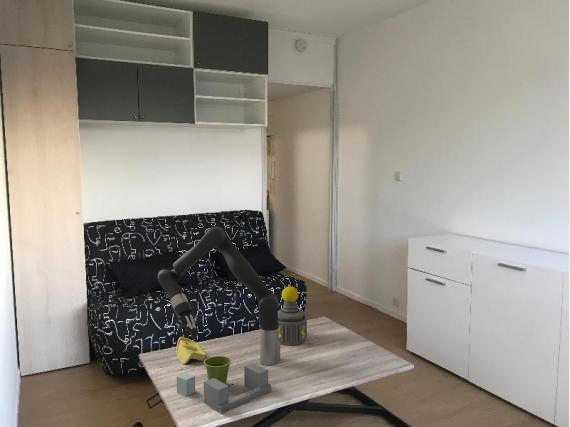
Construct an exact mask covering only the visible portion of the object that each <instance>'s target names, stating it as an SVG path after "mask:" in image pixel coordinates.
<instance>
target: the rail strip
mask: <svg viewBox="0 0 570 427" xmlns="http://www.w3.org/2000/svg"><path fill="white" fill-rule="evenodd" d="M271 392H272V384H270V383H268V384H266V385H263V386H261V387H257V388H255V389H253V390H251V389H249V390H248V391H246V392H244V393H241V394H239V395H236V396H235V397H232V398H229V401H226V402H224V403H222V404H219V412H218V413H219V414H221V415H223V414H225V413H227V412H230V411H232V410H234V409H236V408H239V407H241V406H243V405H245V404H247V403H250V402H252V401H254V400H256V399H258V398H261V397H263V396H265V395H267V394H269V393H271Z"/></svg>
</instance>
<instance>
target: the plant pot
mask: <svg viewBox="0 0 570 427" xmlns="http://www.w3.org/2000/svg"><path fill="white" fill-rule="evenodd" d="M231 363H232V359H231V358H229V357H228V356H226V355H225V356H224V355H215V356H213V355H212V356H209V357H207V358H205V359H204V360H203V364H204V365H205V370H206V374H207V380H210V379H212V378H215V379H217V380H219V381H220V382H222V383H224V384H226V385H227V380H228V374H229V369H230V367H231V366H230V364H231Z"/></svg>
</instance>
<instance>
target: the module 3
mask: <svg viewBox="0 0 570 427" xmlns="http://www.w3.org/2000/svg"><path fill="white" fill-rule="evenodd" d="M243 368H244V369H243V372H244V375H243V376H244V378H243V380H244V387H245V388H247V389H249V390H253V389H255V388H257V387H261V386H263V385H266V384H269V369H267V368H265V367H263V366H260V365H258V364H256V363H254V362H252V363H249V364H247V365H244V367H243Z"/></svg>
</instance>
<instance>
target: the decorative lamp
mask: <svg viewBox="0 0 570 427" xmlns="http://www.w3.org/2000/svg"><path fill="white" fill-rule="evenodd" d="M281 298H282V300H283V301H284V302H283V305H282V308H281V309H278V323H279V342H280V345H282V344H283V345H284V346H297V345H296V344H298V345H301V344H303V343H305V342H306V340H307V336H308V321H307V318H306V316H305V311H303V310H301V309H299V308H298V304H297V300H298V298H299V292H298V290H297V288H296V287H294V286H285V288H284V289H283V290H282V292H281ZM304 341H305V342H304ZM300 343H301V344H300ZM283 345H282V346H283Z"/></svg>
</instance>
